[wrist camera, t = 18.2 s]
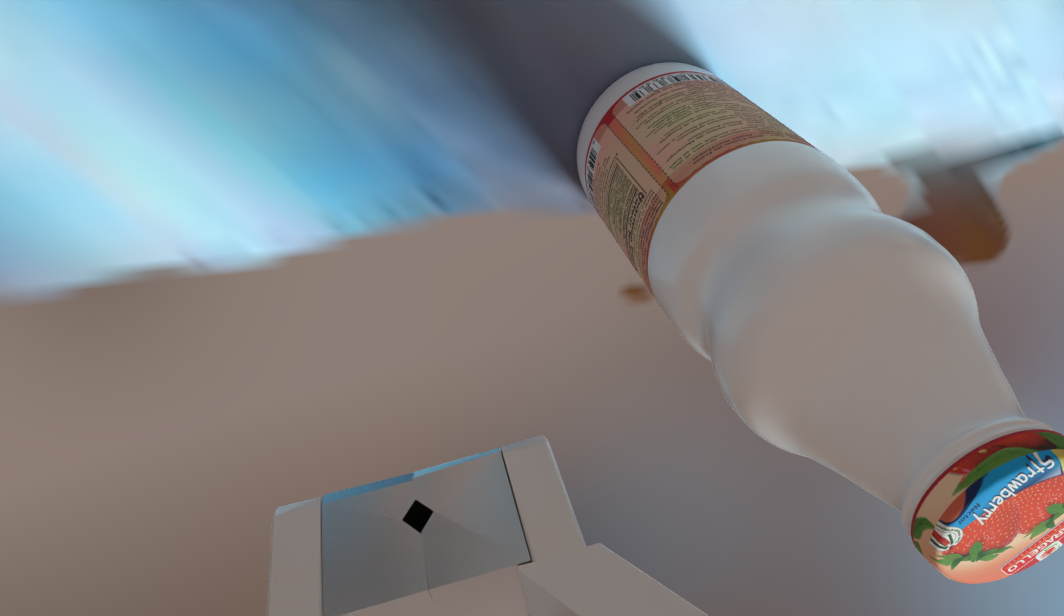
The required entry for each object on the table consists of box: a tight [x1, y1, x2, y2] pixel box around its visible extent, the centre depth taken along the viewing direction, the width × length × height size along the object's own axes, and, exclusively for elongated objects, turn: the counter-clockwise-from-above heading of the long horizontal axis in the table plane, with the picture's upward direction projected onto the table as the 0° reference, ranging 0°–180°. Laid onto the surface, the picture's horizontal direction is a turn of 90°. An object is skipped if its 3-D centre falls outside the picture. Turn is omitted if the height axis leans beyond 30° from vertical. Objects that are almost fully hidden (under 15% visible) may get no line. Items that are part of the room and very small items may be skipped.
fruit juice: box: [577, 62, 1064, 584], centre depth 33 cm, size 9×9×28 cm
